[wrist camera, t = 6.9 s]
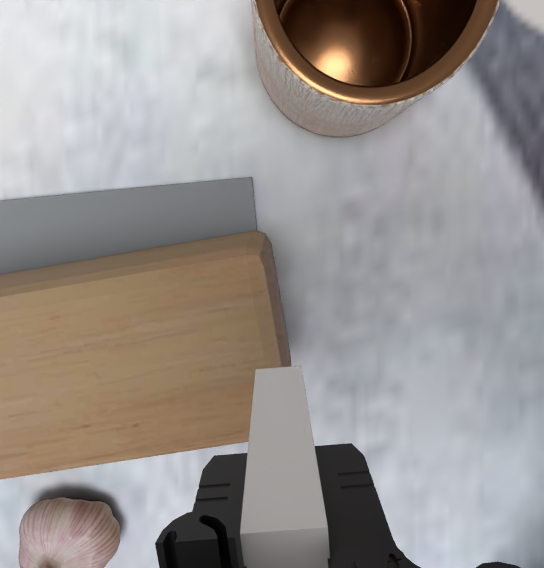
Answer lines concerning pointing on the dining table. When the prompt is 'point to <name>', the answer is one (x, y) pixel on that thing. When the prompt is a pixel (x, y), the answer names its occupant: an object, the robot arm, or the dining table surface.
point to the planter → (362, 56)
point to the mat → (120, 221)
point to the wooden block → (136, 353)
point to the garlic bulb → (68, 534)
